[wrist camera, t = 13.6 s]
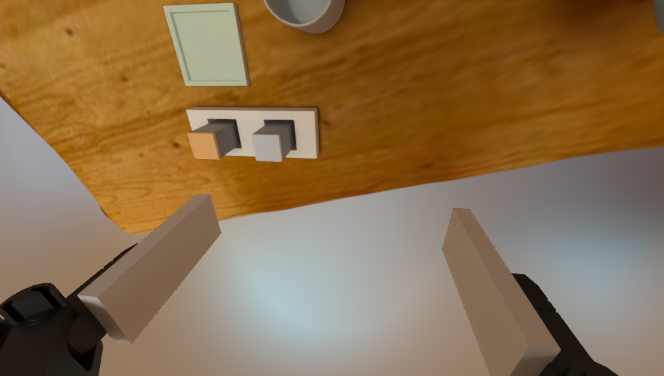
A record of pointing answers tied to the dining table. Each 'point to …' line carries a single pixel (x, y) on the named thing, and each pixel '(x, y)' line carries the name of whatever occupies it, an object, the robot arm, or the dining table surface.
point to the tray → (208, 44)
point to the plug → (214, 139)
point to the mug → (307, 13)
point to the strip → (257, 118)
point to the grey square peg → (274, 140)
